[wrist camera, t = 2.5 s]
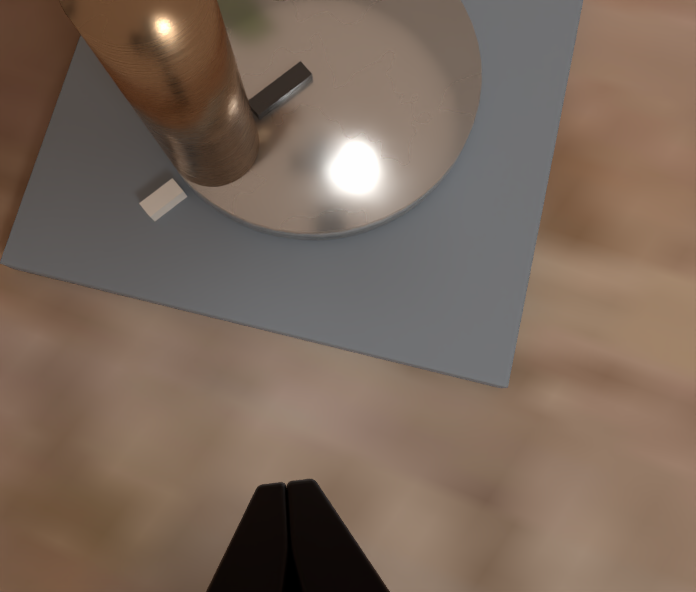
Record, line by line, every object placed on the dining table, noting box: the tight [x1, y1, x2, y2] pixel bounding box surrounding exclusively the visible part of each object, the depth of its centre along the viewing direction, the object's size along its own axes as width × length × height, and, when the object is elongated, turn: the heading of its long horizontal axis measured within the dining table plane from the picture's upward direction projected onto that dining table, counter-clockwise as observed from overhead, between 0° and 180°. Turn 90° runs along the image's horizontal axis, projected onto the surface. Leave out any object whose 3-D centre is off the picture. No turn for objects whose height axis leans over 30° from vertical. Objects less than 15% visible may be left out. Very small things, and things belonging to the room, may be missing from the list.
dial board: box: [0, 0, 583, 388], centre depth 25 cm, size 20×20×2 cm
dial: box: [59, 0, 482, 241], centre depth 19 cm, size 13×13×10 cm
